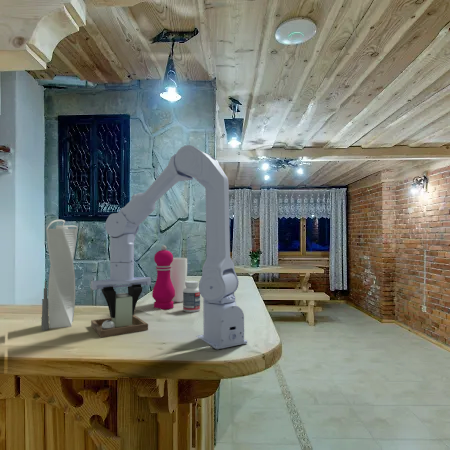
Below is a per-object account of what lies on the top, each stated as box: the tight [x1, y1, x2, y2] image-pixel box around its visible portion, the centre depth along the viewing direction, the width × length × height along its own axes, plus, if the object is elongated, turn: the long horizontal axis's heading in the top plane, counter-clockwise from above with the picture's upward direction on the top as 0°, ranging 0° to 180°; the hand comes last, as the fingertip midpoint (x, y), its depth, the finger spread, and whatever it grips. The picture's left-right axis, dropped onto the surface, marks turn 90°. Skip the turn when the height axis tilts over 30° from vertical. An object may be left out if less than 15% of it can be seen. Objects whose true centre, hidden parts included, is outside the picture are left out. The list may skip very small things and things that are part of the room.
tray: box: [90, 314, 149, 338], centre depth 86 cm, size 11×11×2 cm
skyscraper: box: [40, 219, 79, 331], centre depth 89 cm, size 8×8×28 cm
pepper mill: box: [151, 244, 175, 311], centre depth 111 cm, size 7×7×20 cm
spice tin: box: [112, 292, 132, 327], centre depth 87 cm, size 4×4×8 cm
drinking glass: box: [170, 257, 188, 303], centre depth 121 cm, size 7×7×15 cm
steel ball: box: [102, 320, 115, 330], centre depth 82 cm, size 3×3×3 cm
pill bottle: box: [182, 280, 201, 313], centre depth 108 cm, size 5×5×9 cm
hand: (122, 316), depth 87 cm, fingers closed on spice tin, 4 cm apart
